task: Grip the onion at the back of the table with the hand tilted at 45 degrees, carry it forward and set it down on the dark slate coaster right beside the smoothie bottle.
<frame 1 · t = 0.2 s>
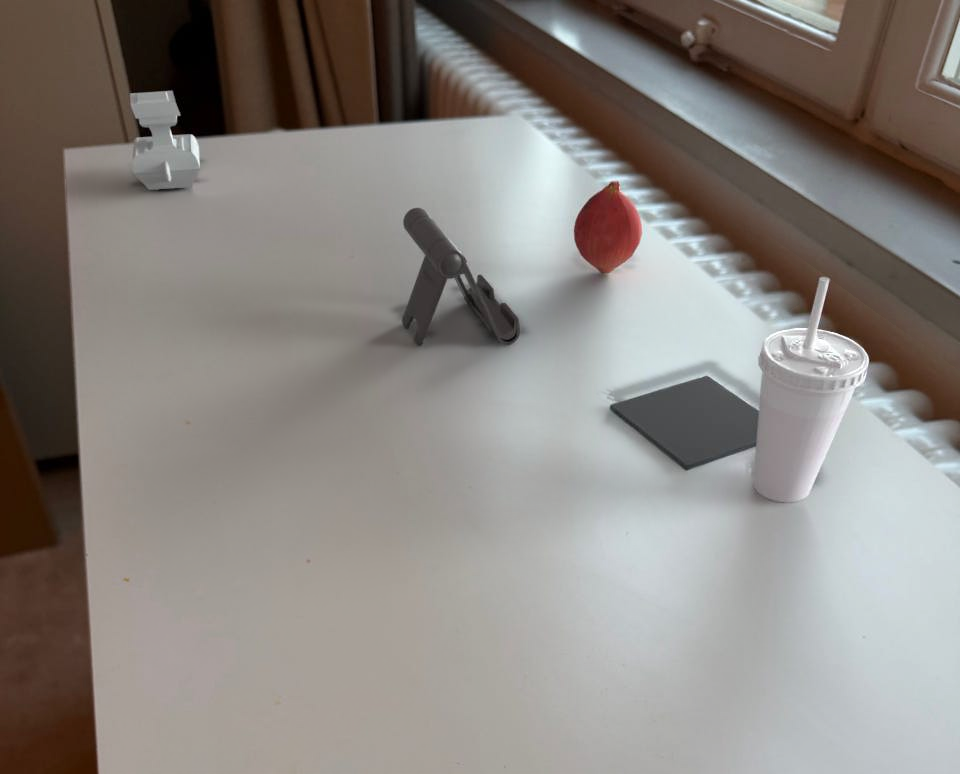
coaster: (697, 422, 74), on the table
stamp: (171, 186, 107), on the table
onion: (603, 274, 92), on the table
tablet stand: (455, 330, 84), on the table
smoothie: (780, 488, 68), on the table
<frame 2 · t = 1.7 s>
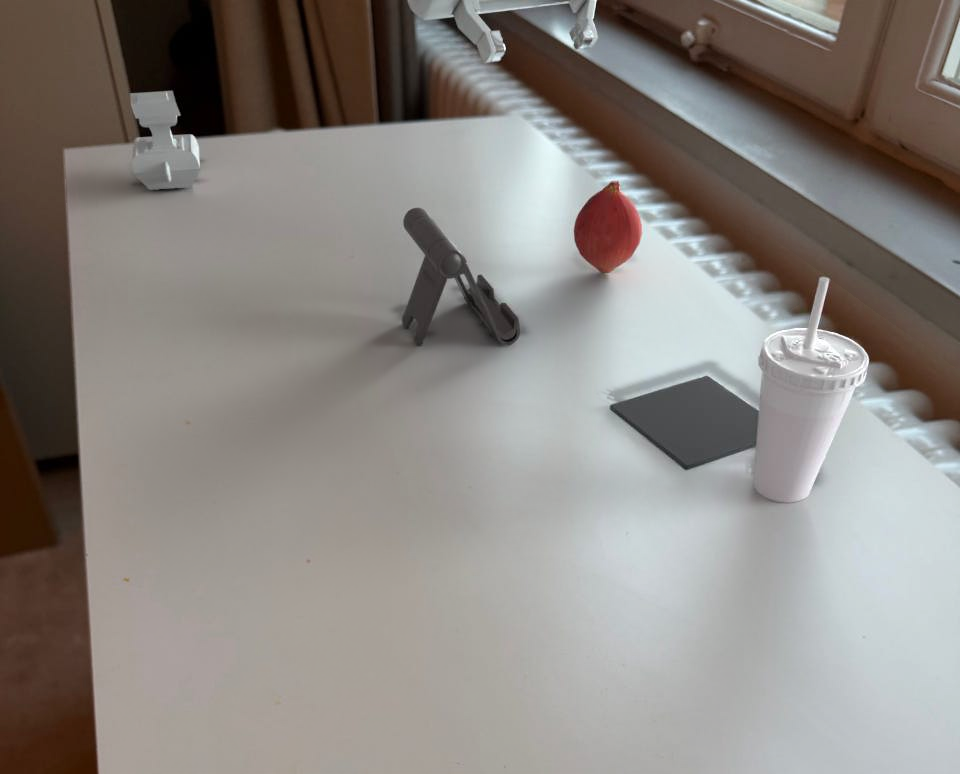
hand: (542, 51, 88), 15 cm above the table, tool tilted 45°, fingers open, 8 cm apart
nothing on the table moved.
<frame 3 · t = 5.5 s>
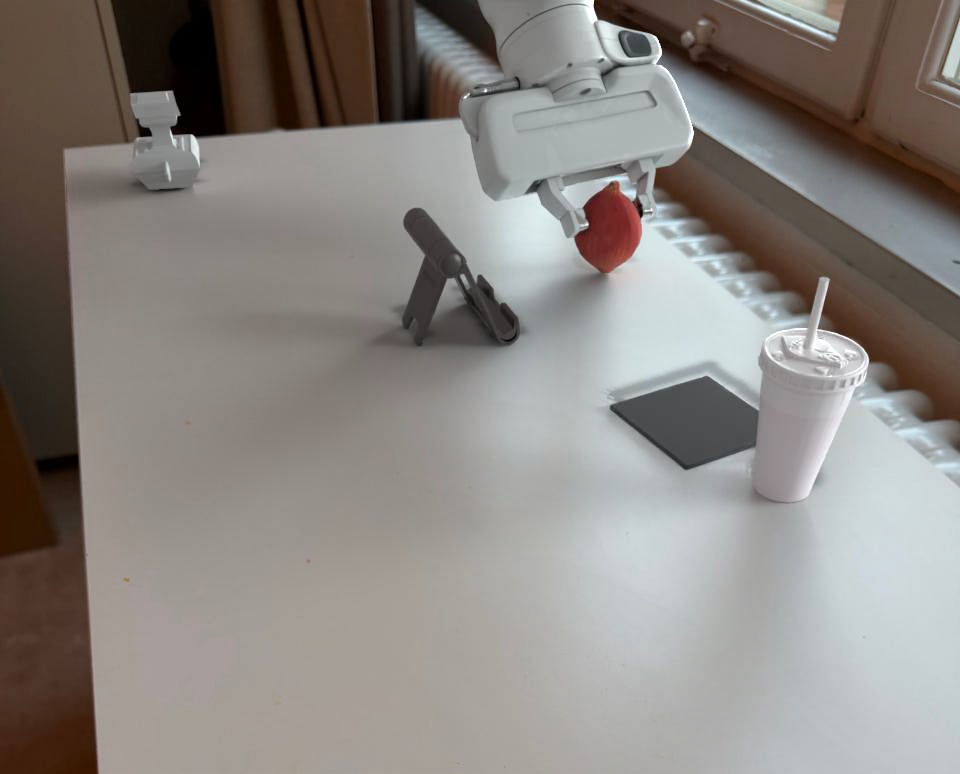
hand: (613, 226, 89), 4 cm above the table, tool tilted 45°, fingers closed on onion, 6 cm apart
onion: (603, 274, 92), on the table, touching gripper
everything else where it was.
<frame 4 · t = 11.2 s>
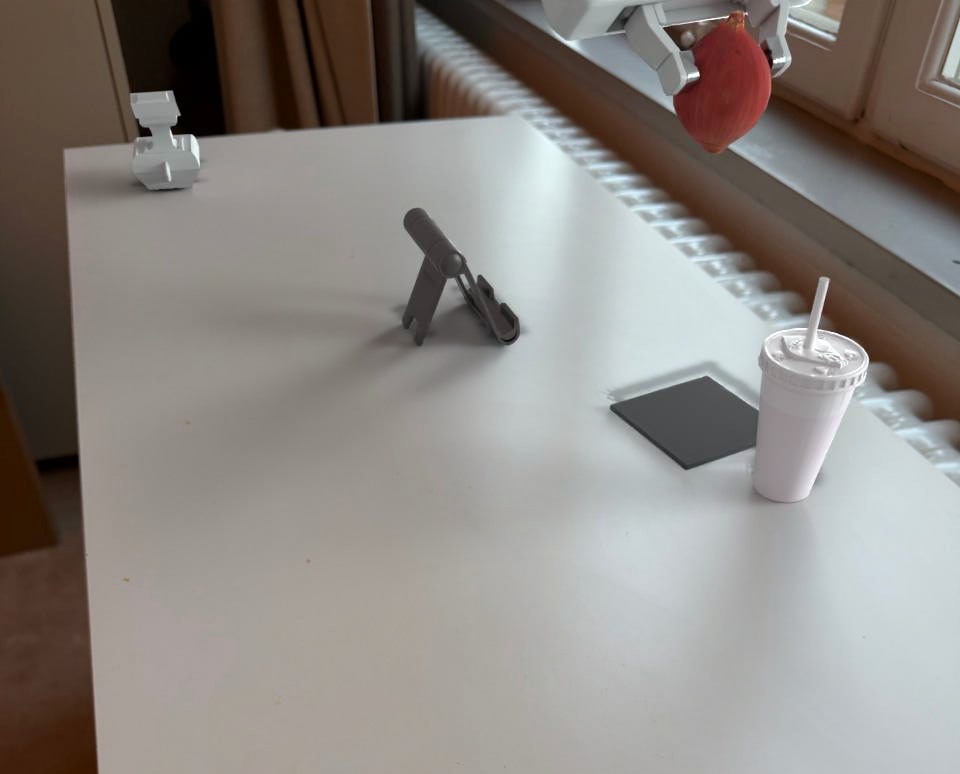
hand: (731, 80, 63), 21 cm above the table, tool tilted 45°, fingers closed on onion, 6 cm apart
onion: (711, 156, 66), point 17 cm above the table, touching gripper
everything else where it was.
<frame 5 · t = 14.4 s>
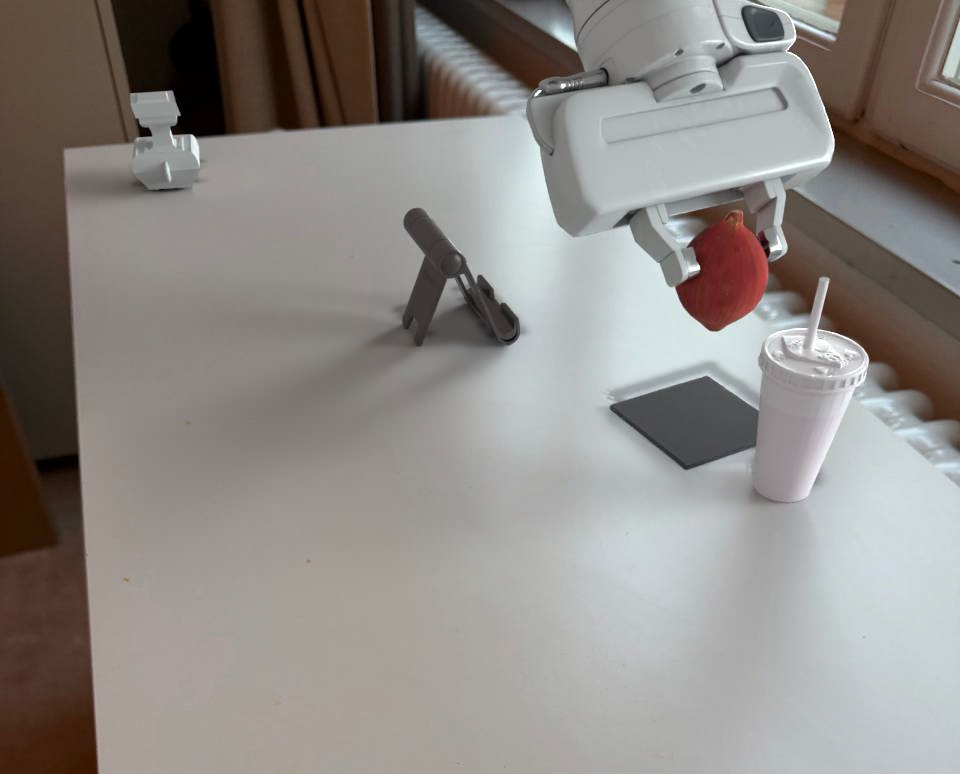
hand: (730, 270, 66), 11 cm above the table, tool tilted 45°, fingers closed on onion, 6 cm apart
onion: (711, 332, 69), point 7 cm above the table, touching gripper
everything else where it was.
when the fingers open (5 cm above the table, at t = 16.8 s): onion stays where it is, resting on coaster.
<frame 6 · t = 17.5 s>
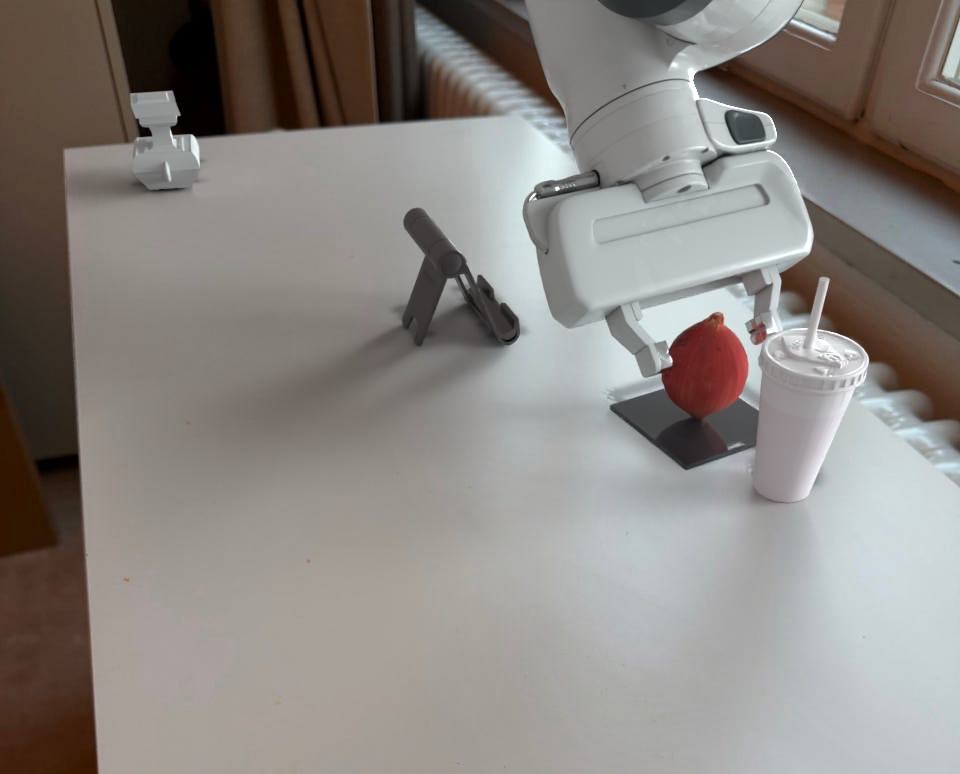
hand: (715, 356, 70), 5 cm above the table, tool tilted 45°, fingers open, 8 cm apart
onion: (696, 419, 74), resting on coaster
everything else where it was.
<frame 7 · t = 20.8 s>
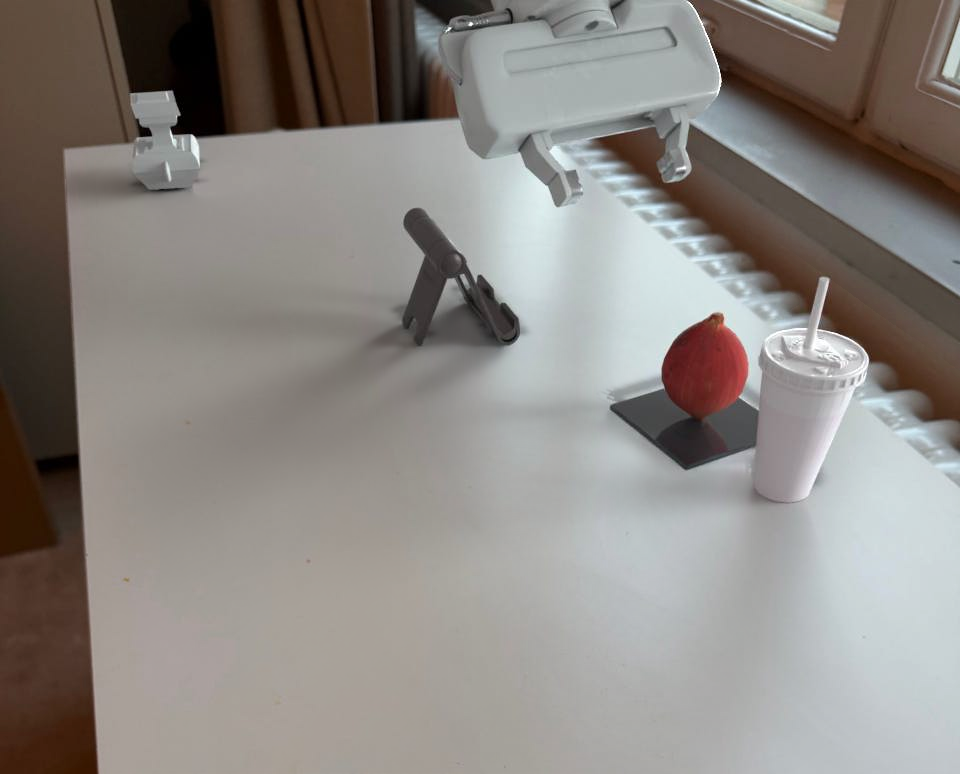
hand: (625, 189, 74), 12 cm above the table, tool tilted 45°, fingers open, 8 cm apart
nothing on the table moved.
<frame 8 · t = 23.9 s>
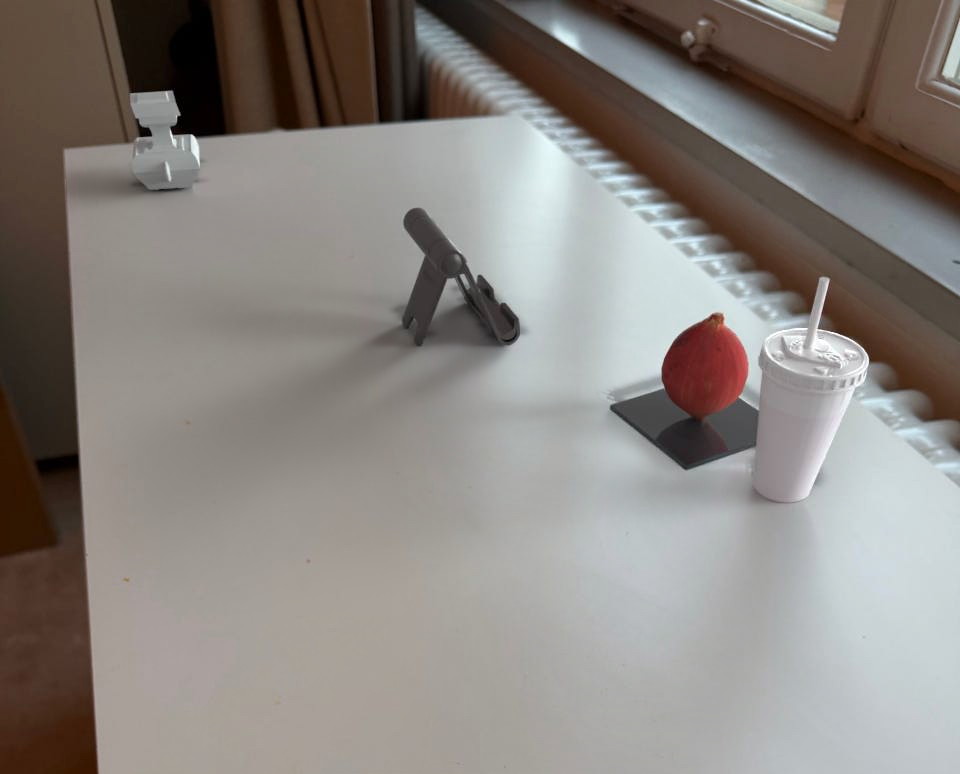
nothing on the table moved.
at the end: onion 9.1 cm from the smoothie (horizontally); onion resting on coaster; smoothie tilted 0° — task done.
